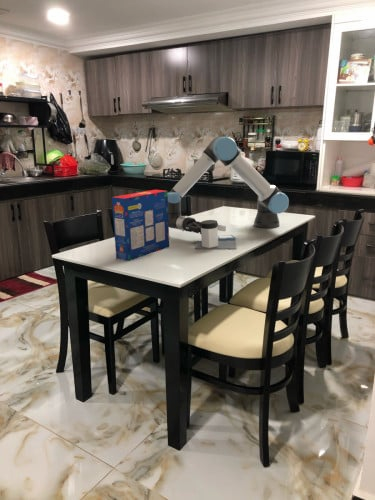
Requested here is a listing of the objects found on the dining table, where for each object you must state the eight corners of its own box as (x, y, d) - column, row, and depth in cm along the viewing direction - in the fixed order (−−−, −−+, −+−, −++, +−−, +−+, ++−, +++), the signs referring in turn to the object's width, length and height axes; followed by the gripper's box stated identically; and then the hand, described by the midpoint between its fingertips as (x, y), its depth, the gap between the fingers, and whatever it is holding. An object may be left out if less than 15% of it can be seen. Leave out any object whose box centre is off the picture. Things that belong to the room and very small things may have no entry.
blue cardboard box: (157, 244, 197) (155, 189, 190) (169, 246, 193) (167, 190, 185) (116, 258, 176) (111, 197, 168) (128, 261, 172) (124, 198, 164)
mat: (235, 241, 200) (235, 240, 200) (236, 249, 186) (236, 248, 186) (196, 241, 201) (196, 240, 201) (195, 248, 188) (195, 248, 188)
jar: (222, 244, 192) (221, 220, 188) (213, 248, 186) (211, 224, 182) (207, 242, 197) (206, 219, 194) (198, 246, 191) (196, 222, 188)
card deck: (232, 238, 209) (232, 234, 208) (235, 241, 203) (235, 237, 202) (215, 239, 207) (215, 235, 207) (219, 242, 201) (219, 238, 201)
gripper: (200, 227, 214) (232, 233, 198) (172, 234, 199) (204, 242, 184) (200, 214, 212) (232, 219, 196) (171, 220, 197) (204, 226, 182)
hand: (219, 230), depth 190 cm, fingers open, 8 cm apart
